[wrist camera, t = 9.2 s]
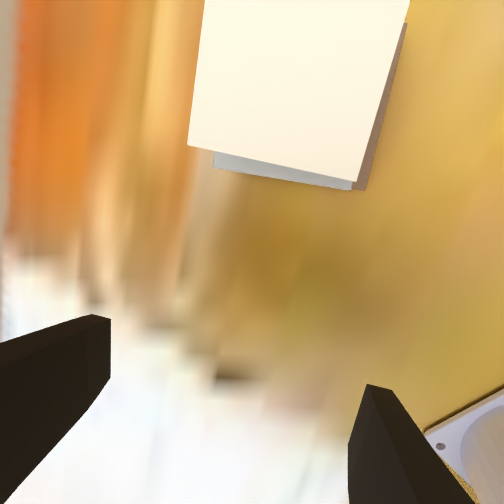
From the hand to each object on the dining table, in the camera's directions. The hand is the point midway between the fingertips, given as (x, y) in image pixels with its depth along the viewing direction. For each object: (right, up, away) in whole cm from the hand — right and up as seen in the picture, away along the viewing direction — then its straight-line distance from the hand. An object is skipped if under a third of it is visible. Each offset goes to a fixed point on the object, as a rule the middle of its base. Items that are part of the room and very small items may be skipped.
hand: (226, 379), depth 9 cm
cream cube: (+2, +9, +3) cm, 10 cm away
